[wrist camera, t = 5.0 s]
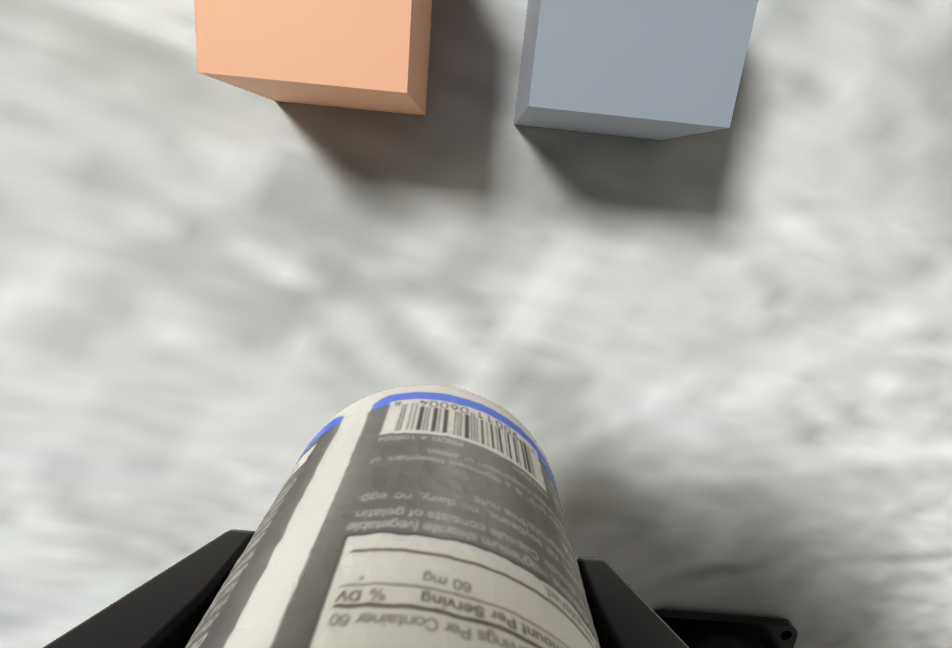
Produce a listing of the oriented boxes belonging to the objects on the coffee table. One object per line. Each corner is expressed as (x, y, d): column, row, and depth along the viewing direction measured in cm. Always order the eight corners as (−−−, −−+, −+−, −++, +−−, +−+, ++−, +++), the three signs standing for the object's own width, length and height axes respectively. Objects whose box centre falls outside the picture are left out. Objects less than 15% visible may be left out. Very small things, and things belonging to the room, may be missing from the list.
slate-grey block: (691, -28, 16) (783, -115, 11) (660, 140, 17) (729, 127, 13) (533, -47, 16) (558, -142, 11) (513, 124, 17) (528, 106, 13)
